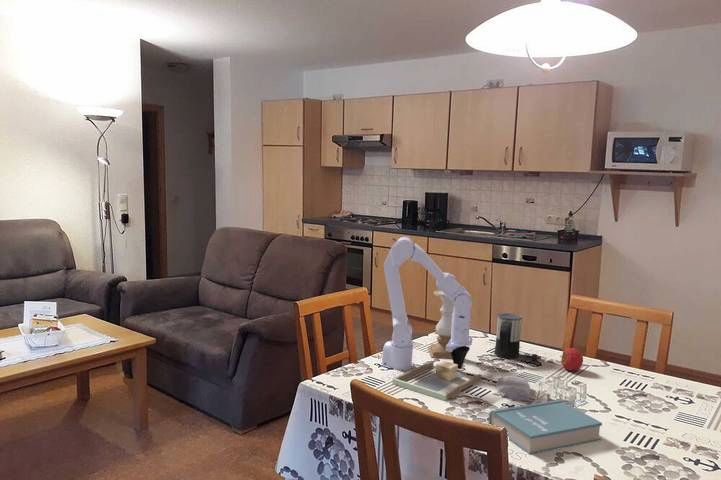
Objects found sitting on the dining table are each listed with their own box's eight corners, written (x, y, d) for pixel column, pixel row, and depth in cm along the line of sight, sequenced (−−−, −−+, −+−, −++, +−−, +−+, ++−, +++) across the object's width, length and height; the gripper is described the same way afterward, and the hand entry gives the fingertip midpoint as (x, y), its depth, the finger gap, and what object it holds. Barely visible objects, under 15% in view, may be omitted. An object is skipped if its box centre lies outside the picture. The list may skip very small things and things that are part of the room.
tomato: (585, 346, 194) (563, 340, 194) (588, 365, 188) (565, 360, 188) (575, 358, 199) (554, 353, 199) (577, 377, 194) (555, 372, 194)
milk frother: (492, 349, 213) (495, 311, 211) (536, 353, 211) (539, 314, 209) (496, 362, 199) (499, 321, 197) (542, 366, 197) (546, 325, 195)
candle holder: (462, 363, 196) (466, 296, 193) (430, 362, 196) (434, 294, 193) (457, 353, 207) (461, 289, 204) (427, 352, 207) (431, 288, 204)
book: (529, 456, 134) (530, 436, 133) (488, 427, 149) (489, 409, 148) (600, 441, 143) (602, 422, 142) (555, 415, 158) (556, 398, 157)
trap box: (392, 388, 171) (392, 378, 171) (430, 369, 189) (431, 360, 189) (444, 405, 160) (445, 395, 160) (480, 383, 178) (481, 374, 178)
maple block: (435, 376, 178) (436, 364, 178) (443, 372, 182) (444, 360, 182) (449, 380, 175) (450, 368, 175) (457, 376, 179) (457, 364, 179)
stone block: (498, 404, 167) (532, 401, 165) (496, 388, 167) (530, 385, 165) (496, 391, 179) (528, 388, 177) (494, 376, 179) (526, 373, 177)
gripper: (460, 334, 175) (458, 377, 176) (481, 325, 186) (479, 365, 188) (441, 330, 179) (438, 371, 181) (462, 321, 190) (460, 360, 192)
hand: (457, 368), depth 184 cm, fingers closed
